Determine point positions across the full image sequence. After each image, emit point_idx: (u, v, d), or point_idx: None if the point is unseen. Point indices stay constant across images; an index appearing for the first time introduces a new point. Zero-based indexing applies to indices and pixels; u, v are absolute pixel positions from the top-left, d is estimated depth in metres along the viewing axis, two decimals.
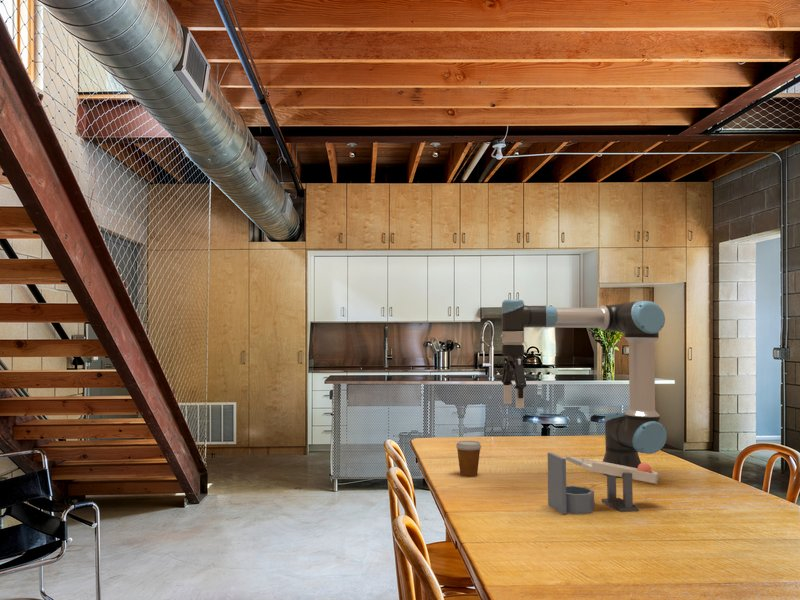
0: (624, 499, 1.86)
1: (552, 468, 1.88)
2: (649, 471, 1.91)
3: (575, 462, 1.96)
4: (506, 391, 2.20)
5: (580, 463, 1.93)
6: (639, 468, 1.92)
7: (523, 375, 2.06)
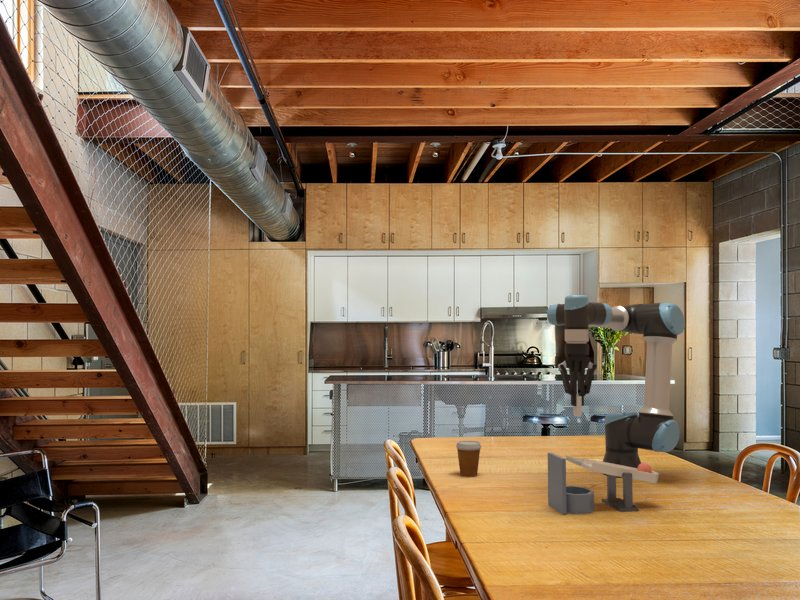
0: (624, 499, 1.86)
1: (552, 468, 1.88)
2: (649, 471, 1.91)
3: (575, 462, 1.96)
4: None
5: (580, 463, 1.93)
6: (639, 468, 1.92)
7: (565, 382, 1.99)
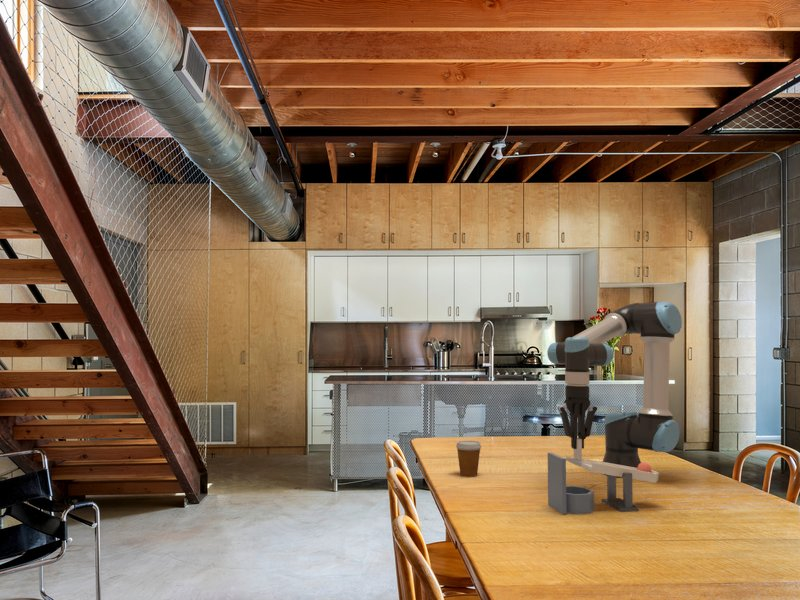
0: (624, 499, 1.86)
1: (552, 468, 1.88)
2: (649, 471, 1.91)
3: (575, 463, 1.96)
4: None
5: (580, 464, 1.93)
6: (639, 468, 1.92)
7: (565, 425, 1.98)
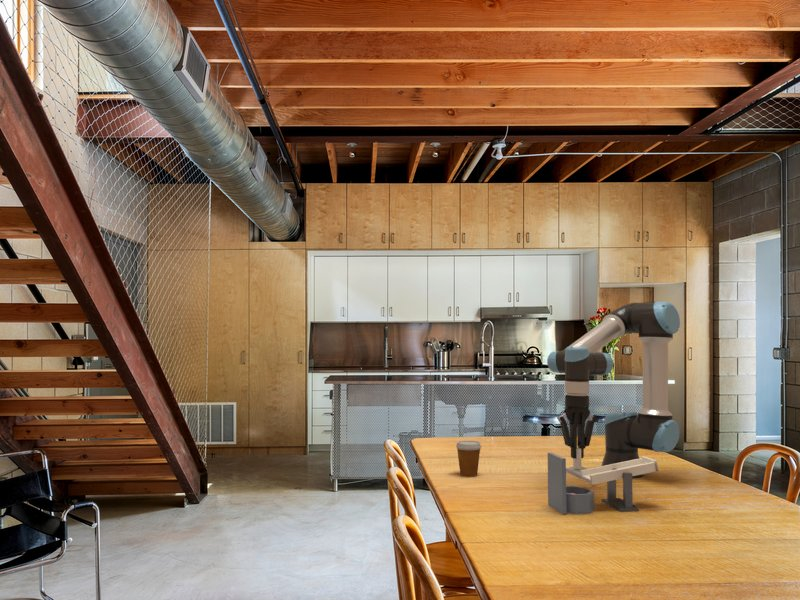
0: (624, 499, 1.86)
1: (552, 468, 1.88)
2: None
3: (575, 475, 1.96)
4: None
5: (580, 476, 1.93)
6: None
7: (565, 435, 1.98)
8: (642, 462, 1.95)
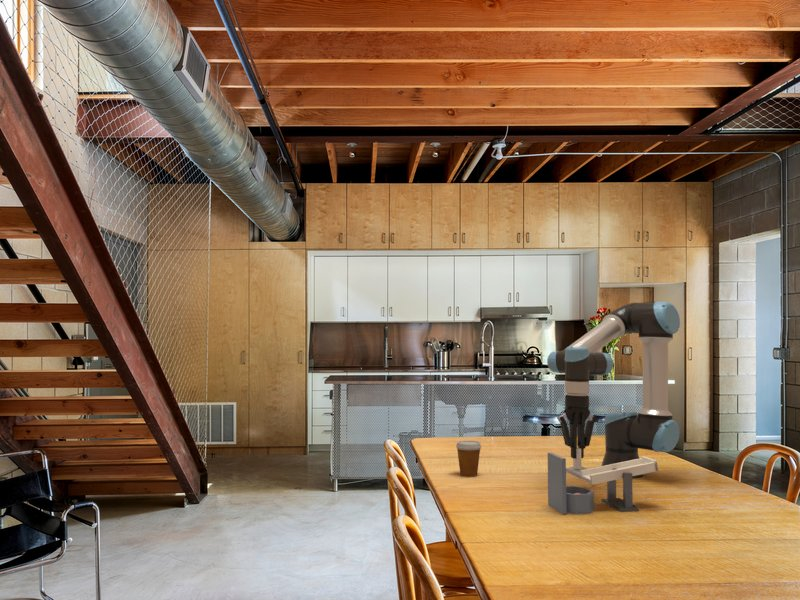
0: (624, 499, 1.86)
1: (552, 468, 1.88)
2: None
3: (575, 475, 1.96)
4: None
5: (580, 476, 1.93)
6: None
7: (565, 435, 1.98)
8: (642, 462, 1.95)
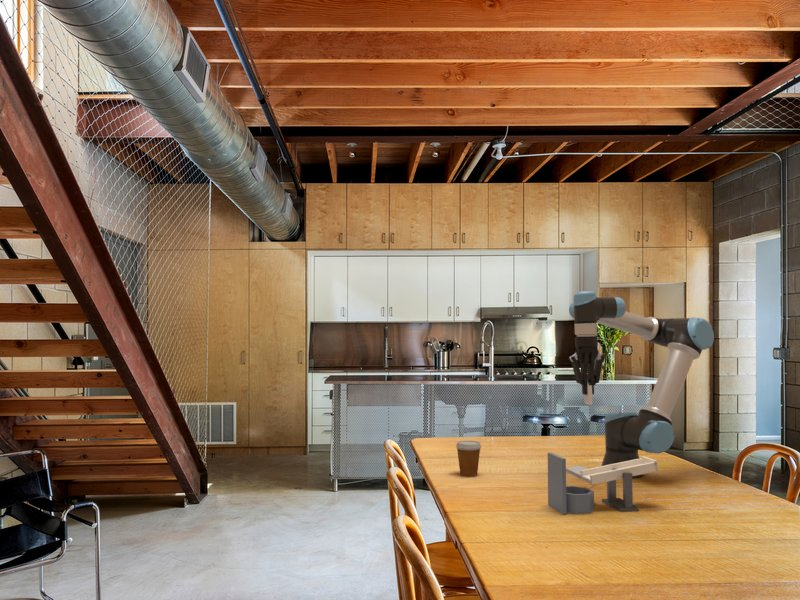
0: (624, 499, 1.86)
1: (552, 468, 1.88)
2: None
3: (575, 475, 1.96)
4: None
5: (580, 476, 1.93)
6: None
7: (576, 373, 2.14)
8: (642, 462, 1.95)
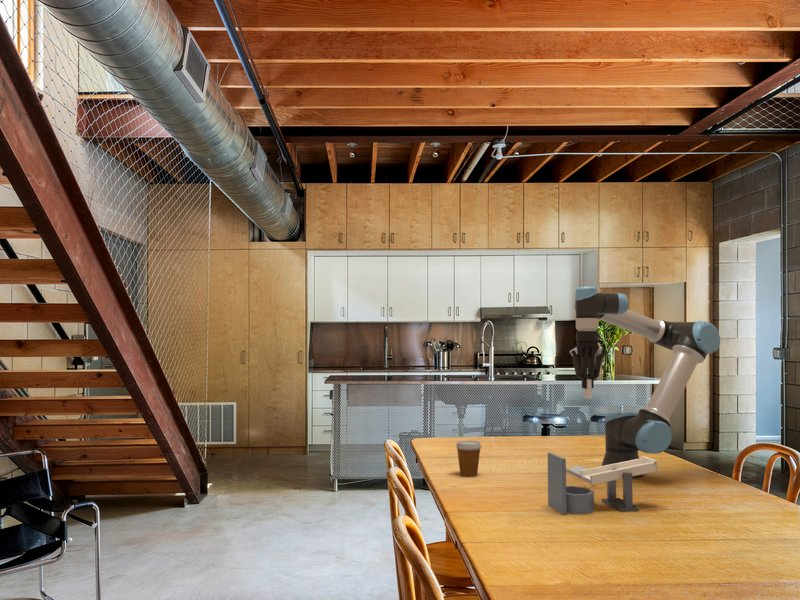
0: (624, 499, 1.86)
1: (552, 468, 1.88)
2: None
3: (575, 475, 1.96)
4: None
5: (580, 476, 1.93)
6: None
7: (576, 367, 2.16)
8: (642, 462, 1.95)
